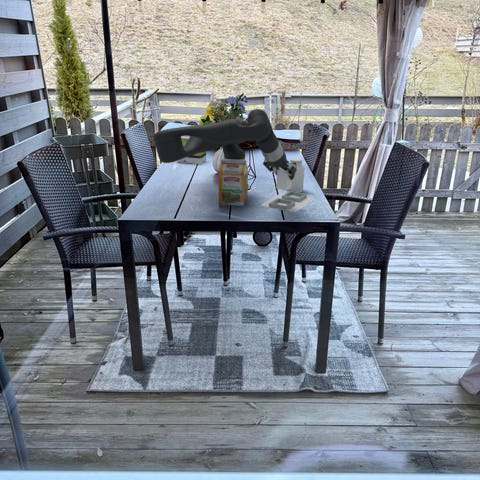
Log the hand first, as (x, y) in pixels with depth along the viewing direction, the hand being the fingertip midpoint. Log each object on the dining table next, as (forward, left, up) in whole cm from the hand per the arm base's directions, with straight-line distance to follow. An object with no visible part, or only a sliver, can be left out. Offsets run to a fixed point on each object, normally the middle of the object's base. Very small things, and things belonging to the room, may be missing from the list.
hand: (286, 176), depth 169 cm
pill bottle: (+11, +23, -13) cm, 29 cm away
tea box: (-34, +87, -13) cm, 94 cm away
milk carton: (-20, +8, -13) cm, 26 cm away
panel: (+3, +4, -13) cm, 14 cm away
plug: (-1, -1, -4) cm, 5 cm away
